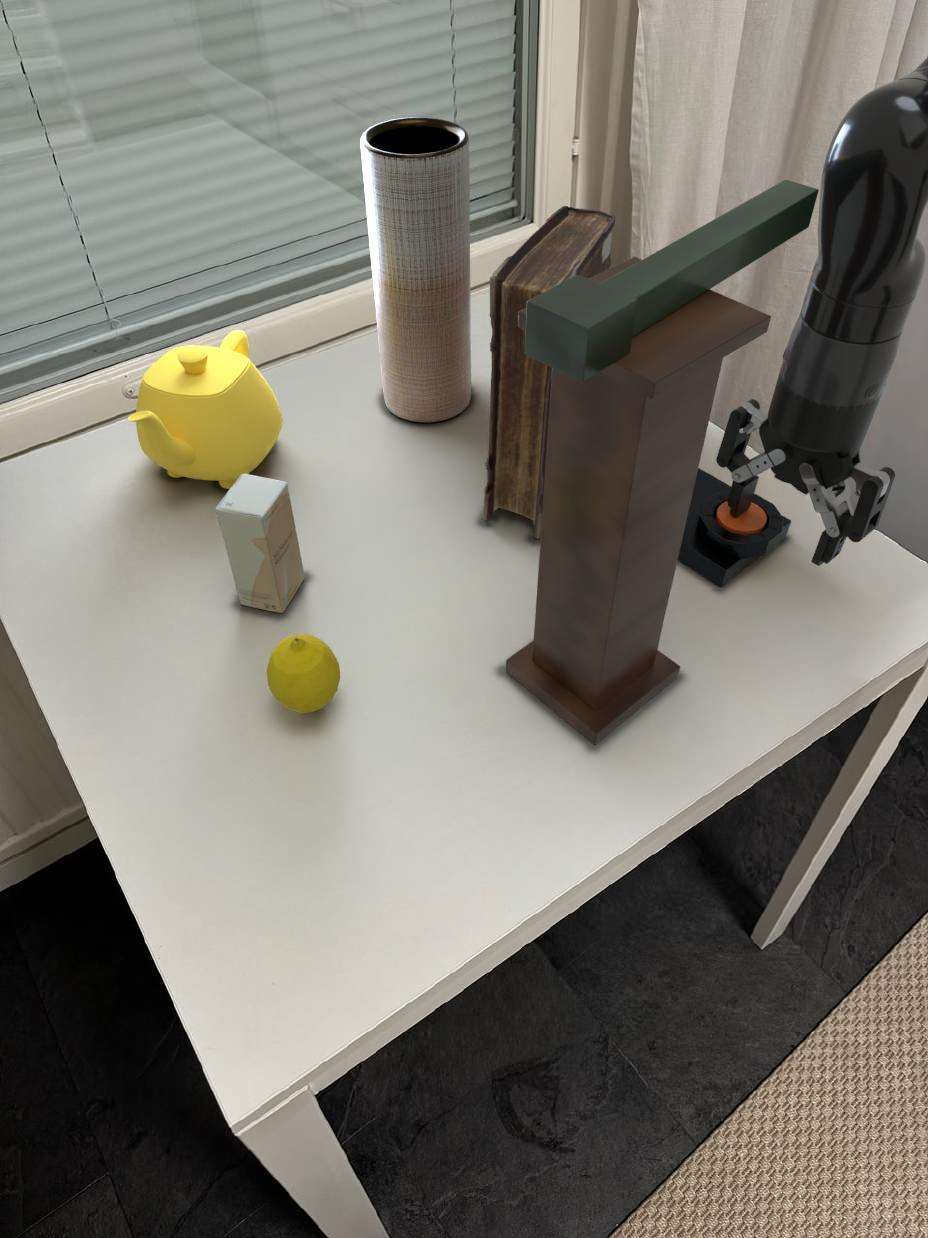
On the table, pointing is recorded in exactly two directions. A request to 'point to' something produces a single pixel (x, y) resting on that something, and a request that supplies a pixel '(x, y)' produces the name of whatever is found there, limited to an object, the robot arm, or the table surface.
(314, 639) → the fruit
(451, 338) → the vase
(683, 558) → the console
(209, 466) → the teapot
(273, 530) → the box
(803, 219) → the rod
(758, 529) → the button
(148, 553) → the table surface
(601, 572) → the pedestal
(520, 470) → the book
